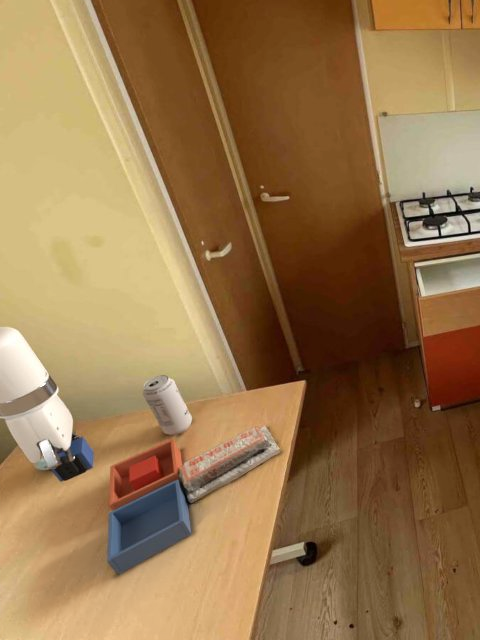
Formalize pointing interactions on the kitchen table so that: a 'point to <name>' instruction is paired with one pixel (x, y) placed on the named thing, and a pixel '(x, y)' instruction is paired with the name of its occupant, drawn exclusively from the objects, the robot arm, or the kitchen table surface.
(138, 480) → the red block
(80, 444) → the blue block
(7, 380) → the robot arm
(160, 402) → the energy drink can
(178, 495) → the blue bin
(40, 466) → the pacifier
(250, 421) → the kitchen table surface
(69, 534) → the kitchen table surface
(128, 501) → the terracotta bin
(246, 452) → the packaged product
